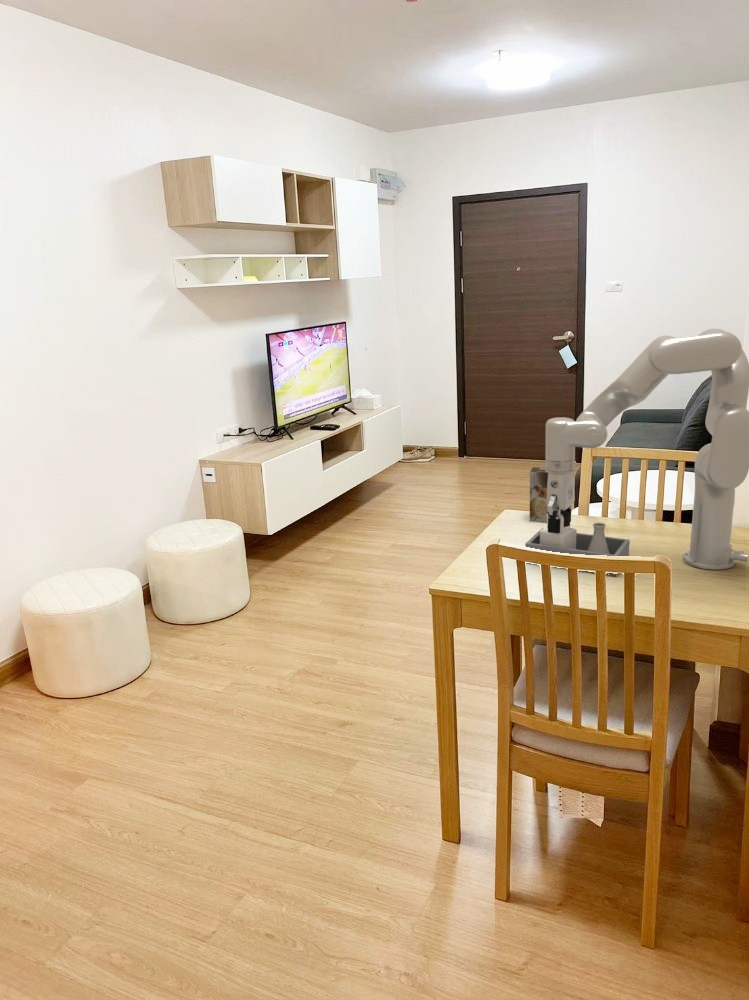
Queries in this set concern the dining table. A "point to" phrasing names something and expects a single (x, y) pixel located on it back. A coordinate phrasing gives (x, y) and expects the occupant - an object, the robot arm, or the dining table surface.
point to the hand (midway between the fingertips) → (559, 527)
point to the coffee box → (538, 494)
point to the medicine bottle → (564, 537)
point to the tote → (584, 546)
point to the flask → (598, 539)
